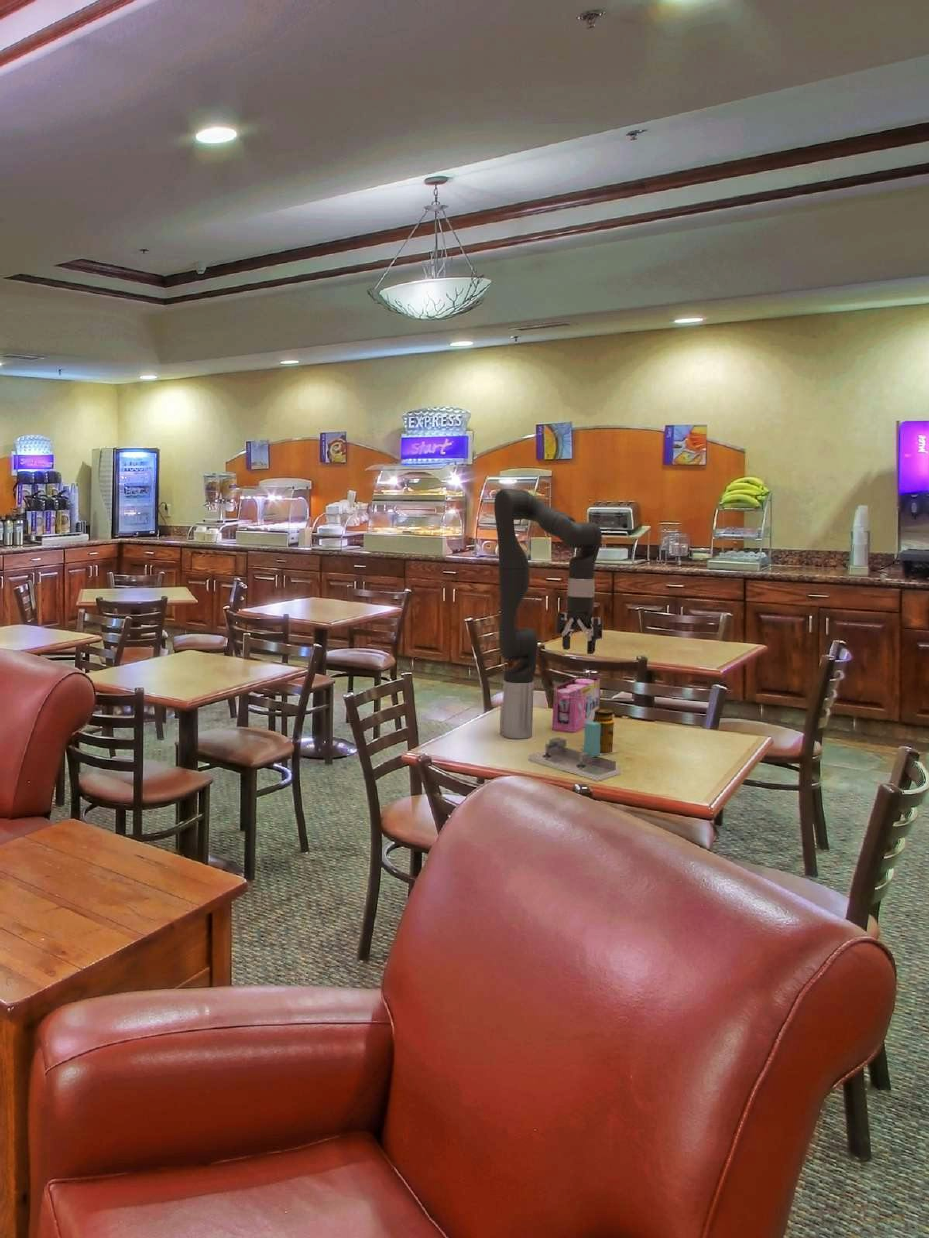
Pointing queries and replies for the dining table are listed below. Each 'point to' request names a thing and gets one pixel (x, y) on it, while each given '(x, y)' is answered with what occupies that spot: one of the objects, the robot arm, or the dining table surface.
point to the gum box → (575, 703)
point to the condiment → (605, 730)
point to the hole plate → (574, 761)
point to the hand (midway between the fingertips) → (578, 651)
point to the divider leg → (591, 741)
